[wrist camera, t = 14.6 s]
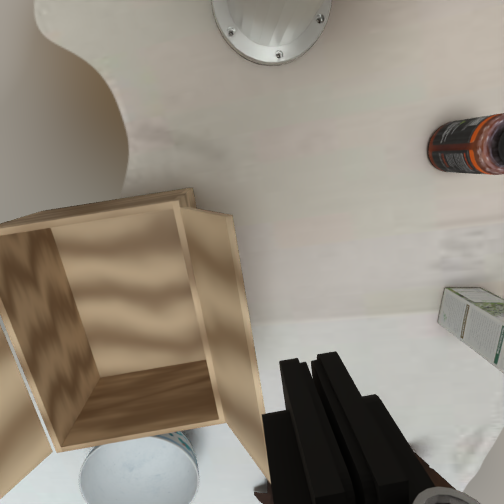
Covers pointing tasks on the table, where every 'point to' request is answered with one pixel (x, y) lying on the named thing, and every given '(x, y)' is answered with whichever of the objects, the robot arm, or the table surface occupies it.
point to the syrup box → (475, 321)
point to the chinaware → (141, 471)
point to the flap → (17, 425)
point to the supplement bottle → (470, 146)
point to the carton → (109, 320)
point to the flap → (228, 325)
